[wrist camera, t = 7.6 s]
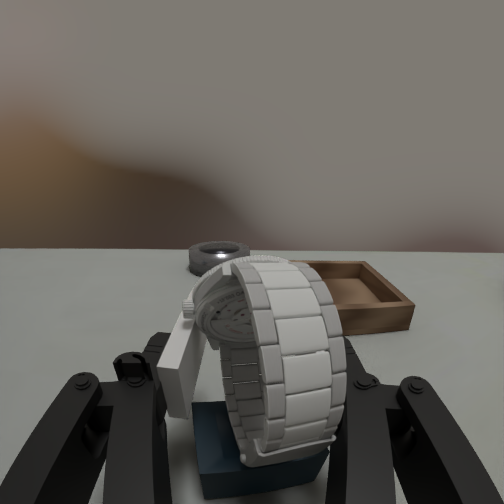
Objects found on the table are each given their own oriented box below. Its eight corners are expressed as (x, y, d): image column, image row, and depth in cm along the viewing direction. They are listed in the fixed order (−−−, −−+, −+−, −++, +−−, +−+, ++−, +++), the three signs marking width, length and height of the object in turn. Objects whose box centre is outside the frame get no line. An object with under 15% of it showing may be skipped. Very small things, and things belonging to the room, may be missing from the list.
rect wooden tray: (273, 337, 24) (274, 310, 23) (265, 279, 37) (266, 260, 36) (408, 329, 24) (415, 305, 23) (362, 279, 37) (365, 261, 36)
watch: (279, 404, 16) (304, 237, 13) (325, 505, 8) (432, 315, 5) (191, 412, 14) (182, 235, 12) (207, 527, 7) (174, 345, 4)
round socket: (180, 275, 38) (178, 254, 37) (201, 257, 46) (201, 239, 46) (242, 281, 36) (243, 259, 36) (253, 260, 45) (254, 242, 44)
